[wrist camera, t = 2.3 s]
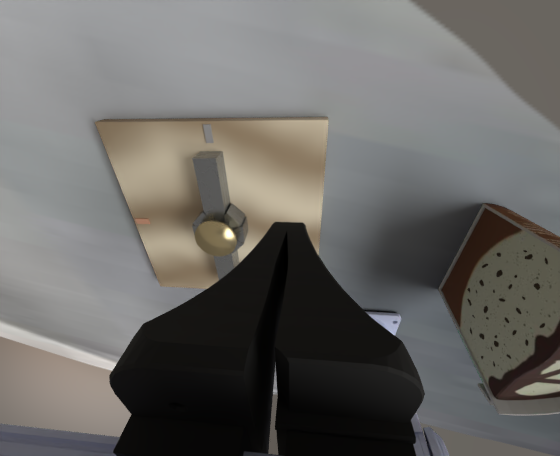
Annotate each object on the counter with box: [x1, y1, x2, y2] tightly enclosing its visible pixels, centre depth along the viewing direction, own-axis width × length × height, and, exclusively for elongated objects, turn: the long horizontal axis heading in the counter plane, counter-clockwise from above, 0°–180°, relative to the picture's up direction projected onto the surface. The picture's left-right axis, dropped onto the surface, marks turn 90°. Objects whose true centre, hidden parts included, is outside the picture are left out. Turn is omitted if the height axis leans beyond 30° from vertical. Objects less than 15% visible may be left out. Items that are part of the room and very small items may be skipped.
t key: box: [192, 151, 248, 280], centre depth 20 cm, size 12×4×2 cm, turn 1°
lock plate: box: [95, 117, 328, 289], centre depth 20 cm, size 16×16×3 cm
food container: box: [438, 203, 560, 415], centre depth 17 cm, size 12×6×10 cm, turn 179°
